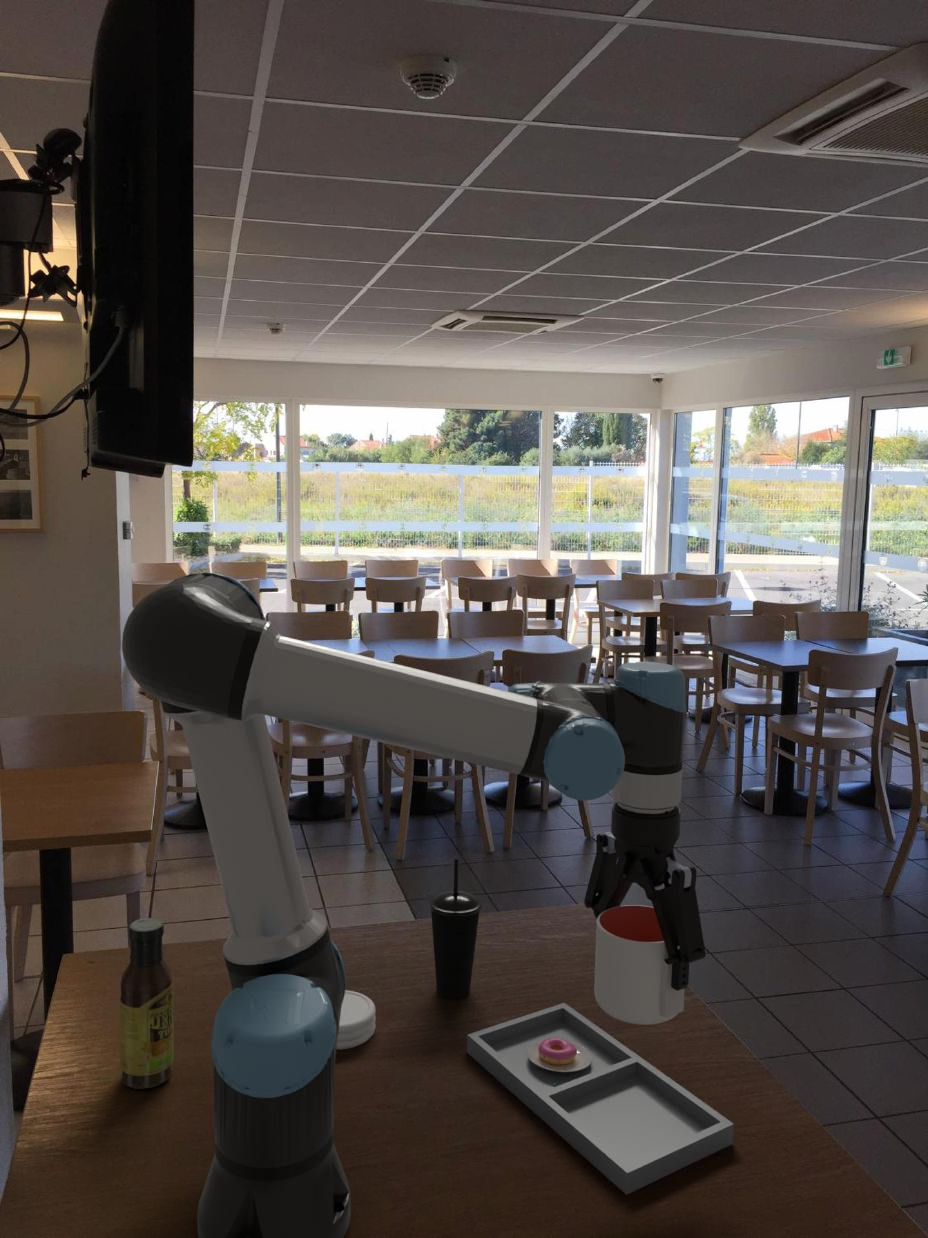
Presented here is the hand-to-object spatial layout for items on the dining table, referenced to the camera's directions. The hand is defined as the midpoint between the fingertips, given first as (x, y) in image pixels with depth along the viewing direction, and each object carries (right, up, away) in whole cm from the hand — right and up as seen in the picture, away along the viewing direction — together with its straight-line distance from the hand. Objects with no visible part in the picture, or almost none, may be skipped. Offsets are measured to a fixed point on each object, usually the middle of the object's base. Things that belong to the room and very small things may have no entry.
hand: (638, 992), depth 116 cm
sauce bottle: (-59, -15, +11) cm, 62 cm away
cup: (0, -2, 0) cm, 2 cm away
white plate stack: (-37, -14, +22) cm, 45 cm away
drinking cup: (-21, -12, +33) cm, 41 cm away
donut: (-8, -15, +13) cm, 21 cm away
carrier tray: (-4, -16, +9) cm, 19 cm away
